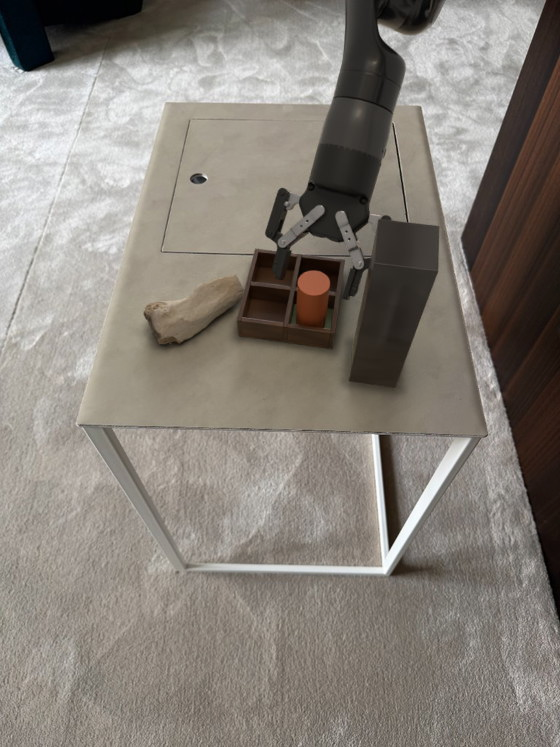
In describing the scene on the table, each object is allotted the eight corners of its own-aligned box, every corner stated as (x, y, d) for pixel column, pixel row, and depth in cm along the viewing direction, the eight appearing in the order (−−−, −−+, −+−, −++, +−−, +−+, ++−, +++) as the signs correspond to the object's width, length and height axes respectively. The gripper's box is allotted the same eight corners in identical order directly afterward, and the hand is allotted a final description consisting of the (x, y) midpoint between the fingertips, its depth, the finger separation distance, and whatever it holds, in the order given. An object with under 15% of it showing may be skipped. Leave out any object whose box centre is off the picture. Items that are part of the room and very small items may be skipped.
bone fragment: (163, 355, 72) (156, 334, 68) (145, 321, 75) (137, 299, 71) (253, 315, 75) (252, 293, 71) (233, 284, 78) (230, 262, 74)
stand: (397, 349, 72) (439, 225, 54) (395, 387, 69) (438, 271, 51) (353, 343, 73) (378, 218, 54) (348, 381, 70) (374, 263, 51)
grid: (342, 276, 79) (345, 259, 76) (332, 349, 72) (334, 333, 69) (256, 265, 80) (255, 248, 77) (238, 336, 74) (236, 320, 70)
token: (327, 311, 75) (331, 272, 68) (323, 335, 73) (328, 297, 66) (298, 308, 75) (300, 268, 68) (293, 331, 73) (295, 293, 66)
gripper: (283, 128, 59) (248, 274, 64) (411, 159, 57) (364, 308, 61) (299, 143, 67) (266, 272, 71) (413, 170, 64) (371, 303, 68)
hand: (312, 289), depth 66 cm, fingers open, 8 cm apart
